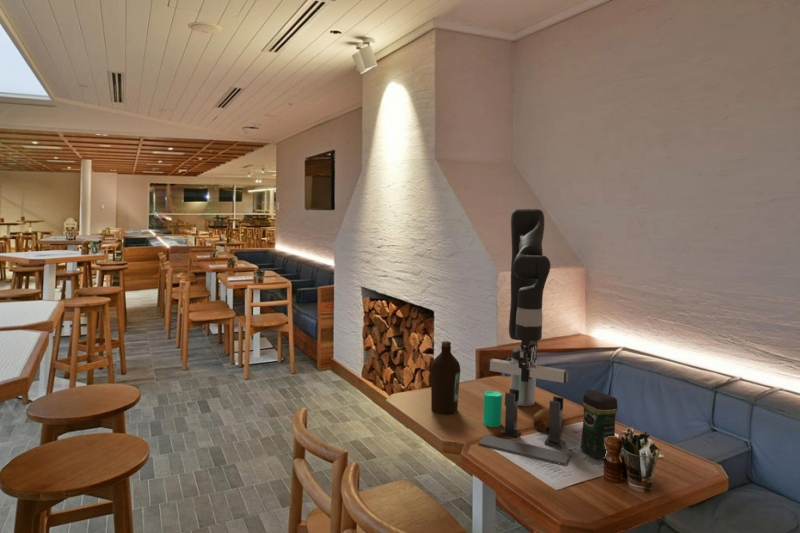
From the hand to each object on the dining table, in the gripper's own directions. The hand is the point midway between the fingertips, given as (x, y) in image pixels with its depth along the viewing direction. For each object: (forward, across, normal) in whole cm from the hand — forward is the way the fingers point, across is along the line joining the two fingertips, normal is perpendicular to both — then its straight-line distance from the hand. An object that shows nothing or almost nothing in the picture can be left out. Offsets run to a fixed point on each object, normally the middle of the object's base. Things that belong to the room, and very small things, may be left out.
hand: (526, 379), depth 155 cm
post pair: (+22, -10, 0) cm, 24 cm away
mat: (+22, 0, 0) cm, 22 cm away
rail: (-1, 0, 0) cm, 1 cm away
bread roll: (+22, -21, +2) cm, 31 cm away
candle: (+22, -15, -15) cm, 30 cm away
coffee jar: (+22, -10, +20) cm, 31 cm away
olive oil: (+22, -18, -34) cm, 44 cm away
